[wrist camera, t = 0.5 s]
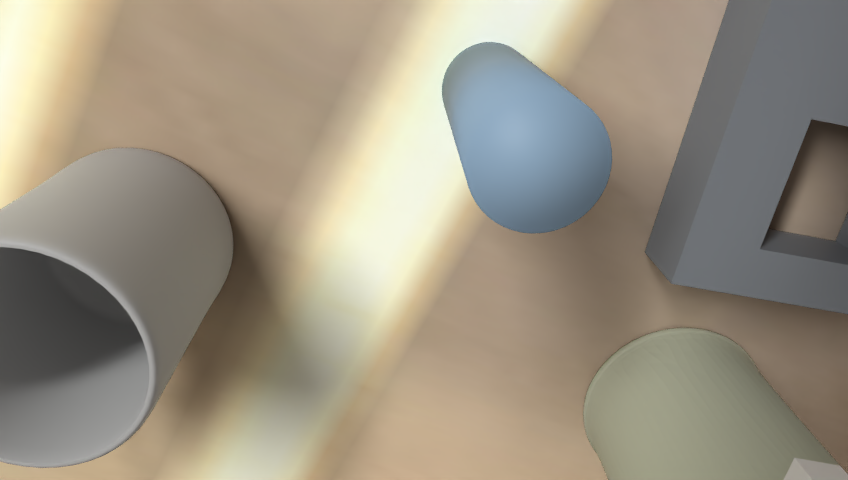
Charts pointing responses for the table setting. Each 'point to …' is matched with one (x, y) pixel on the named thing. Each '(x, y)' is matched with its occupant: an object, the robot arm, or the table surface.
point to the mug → (101, 300)
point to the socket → (757, 157)
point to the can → (691, 413)
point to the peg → (524, 140)
